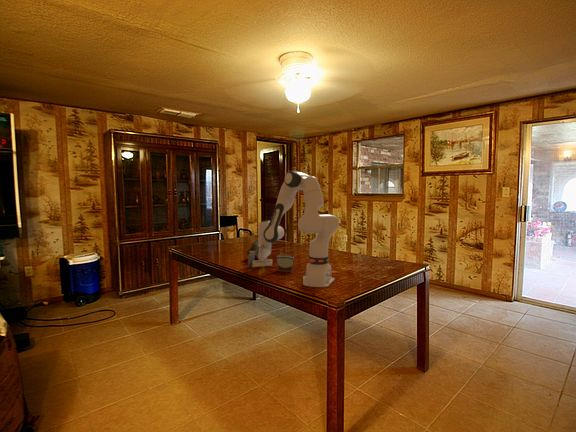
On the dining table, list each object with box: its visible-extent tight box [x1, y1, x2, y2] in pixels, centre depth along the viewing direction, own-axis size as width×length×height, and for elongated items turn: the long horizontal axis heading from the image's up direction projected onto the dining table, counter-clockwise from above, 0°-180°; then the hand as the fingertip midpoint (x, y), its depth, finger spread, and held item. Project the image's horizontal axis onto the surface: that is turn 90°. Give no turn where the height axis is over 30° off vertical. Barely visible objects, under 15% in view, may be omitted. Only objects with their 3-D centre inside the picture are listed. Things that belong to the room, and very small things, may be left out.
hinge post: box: [247, 254, 253, 269], centre depth 213 cm, size 3×3×10 cm
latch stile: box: [250, 251, 256, 264], centre depth 227 cm, size 2×3×9 cm
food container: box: [275, 254, 295, 273], centre depth 206 cm, size 12×6×10 cm, turn 74°
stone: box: [246, 239, 260, 260], centre depth 241 cm, size 15×10×15 cm
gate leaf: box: [252, 259, 273, 268], centre depth 216 cm, size 14×1×4 cm, turn 108°
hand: (264, 263), depth 214 cm, fingers closed
